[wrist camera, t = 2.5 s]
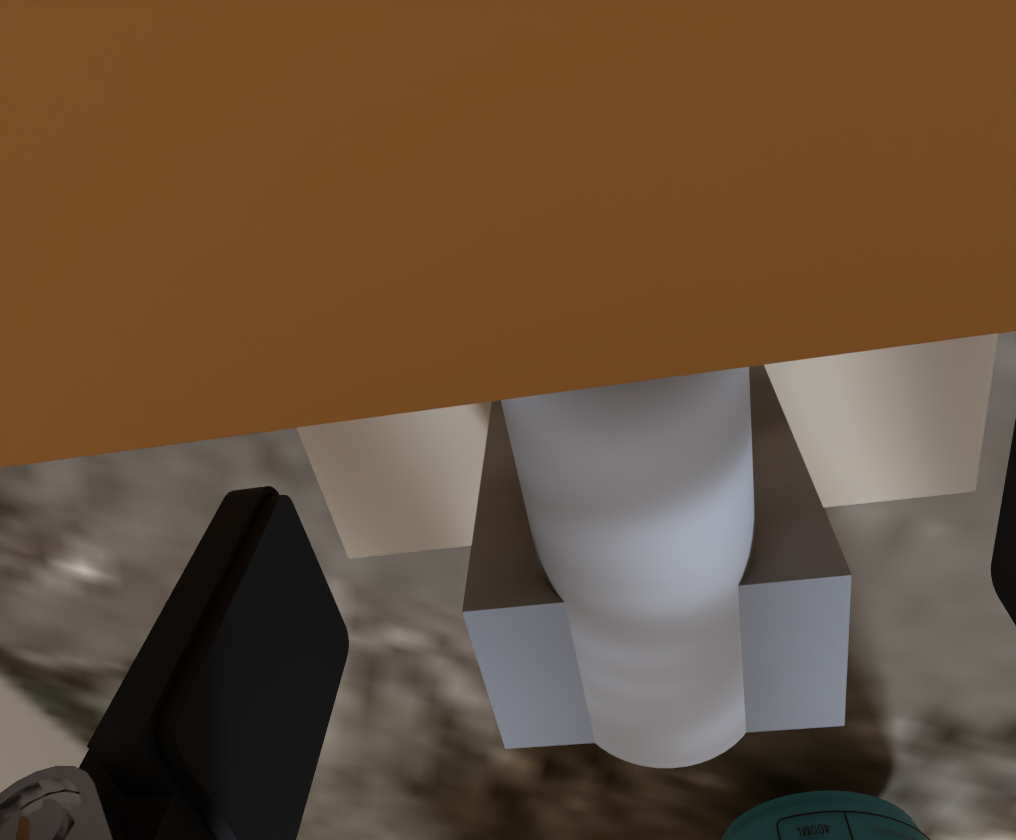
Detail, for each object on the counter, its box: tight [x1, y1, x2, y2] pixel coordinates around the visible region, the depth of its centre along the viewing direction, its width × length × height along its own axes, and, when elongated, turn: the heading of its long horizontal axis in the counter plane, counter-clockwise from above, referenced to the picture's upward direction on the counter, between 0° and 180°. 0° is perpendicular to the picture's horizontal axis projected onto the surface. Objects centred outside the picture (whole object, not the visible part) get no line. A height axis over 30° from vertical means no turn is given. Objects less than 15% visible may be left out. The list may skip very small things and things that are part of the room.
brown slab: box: [0, 0, 1016, 467], centre depth 8 cm, size 13×3×8 cm, turn 101°
